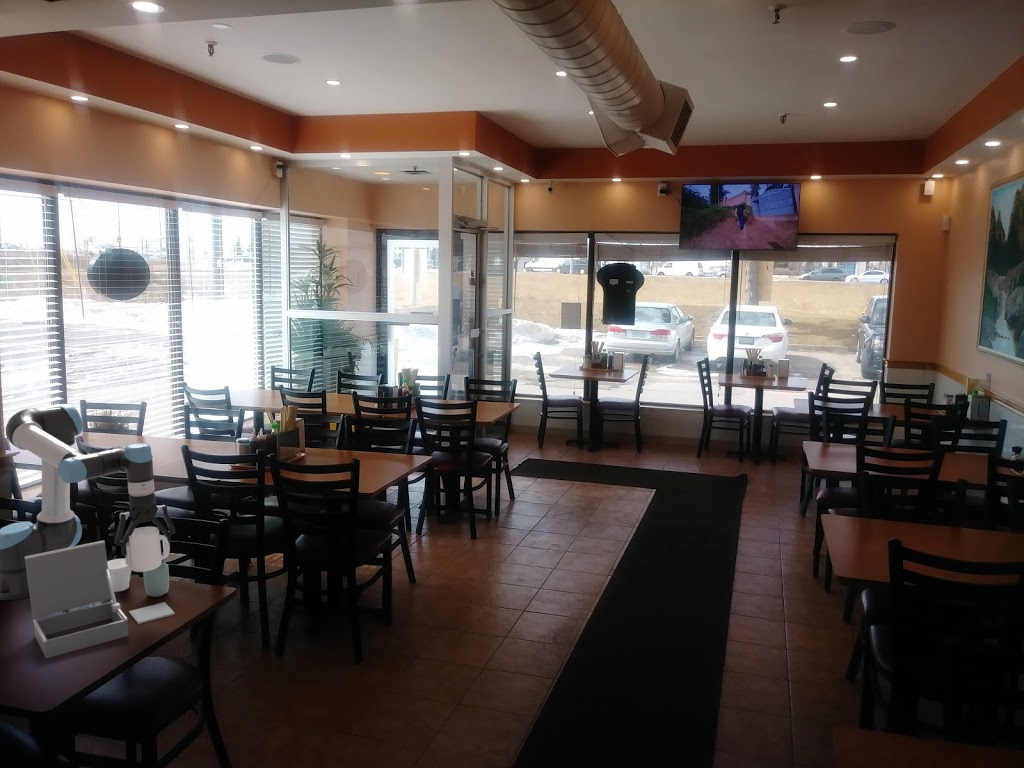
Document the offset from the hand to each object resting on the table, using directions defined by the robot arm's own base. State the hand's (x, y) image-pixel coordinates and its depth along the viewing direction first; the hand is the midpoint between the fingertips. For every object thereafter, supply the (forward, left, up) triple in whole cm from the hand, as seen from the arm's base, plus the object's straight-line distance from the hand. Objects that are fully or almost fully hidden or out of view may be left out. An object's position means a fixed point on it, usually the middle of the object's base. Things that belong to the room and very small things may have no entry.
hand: (147, 560), depth 259 cm
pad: (0, 0, -18) cm, 18 cm away
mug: (0, +1, -2) cm, 2 cm away
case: (+3, -21, -18) cm, 28 cm away
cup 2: (-15, +6, -18) cm, 24 cm away
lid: (-8, -21, -3) cm, 23 cm away
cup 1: (-29, -3, -18) cm, 34 cm away
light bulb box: (-17, -17, -18) cm, 30 cm away
